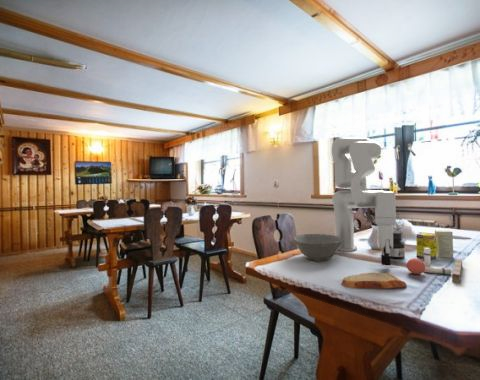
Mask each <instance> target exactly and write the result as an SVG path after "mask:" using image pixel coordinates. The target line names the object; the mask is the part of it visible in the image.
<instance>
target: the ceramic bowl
mask: <svg viewBox="0 0 480 380" xmlns="http://www.w3.org/2000/svg"><path fill="white" fill-rule="evenodd" d="M293 239H294V242H295V244H296V245H297V248H298V250H299V251H300V253H301V254H302V255H303V256H305V257H306V258H307V259H309V260H310V261H313V262H322V261H326V260H330V259H332V258H333V257H334V256H335V255H336V253H337V251H338V250H337V249H338V247H339V246H340V244H341V243H342V241H343V238H340V237H338V236H335V234H327V233H322V234H320V233H307V234H305V233H304V234H298V235H295V236H294V237H293Z"/></svg>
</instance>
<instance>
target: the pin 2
mask: <svg viewBox="0 0 480 380" xmlns="http://www.w3.org/2000/svg"><path fill="white" fill-rule="evenodd" d="M427 272H428V273H429V274H438V275H439V274H441V275H451V276H452V269H451V268H450V267H449V268H445V267H435V266H431V267H425V270H424V272H423V273H427Z"/></svg>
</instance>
